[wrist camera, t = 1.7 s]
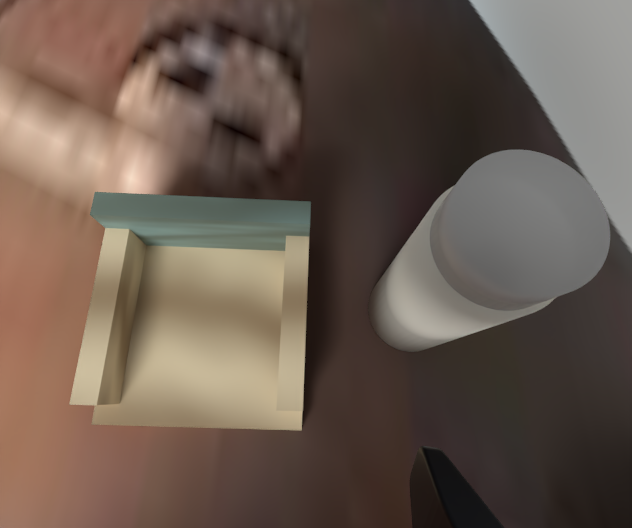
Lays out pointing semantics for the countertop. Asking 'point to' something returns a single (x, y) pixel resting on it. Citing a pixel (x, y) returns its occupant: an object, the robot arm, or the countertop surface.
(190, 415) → the stand
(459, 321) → the mill
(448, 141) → the countertop surface
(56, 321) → the countertop surface
